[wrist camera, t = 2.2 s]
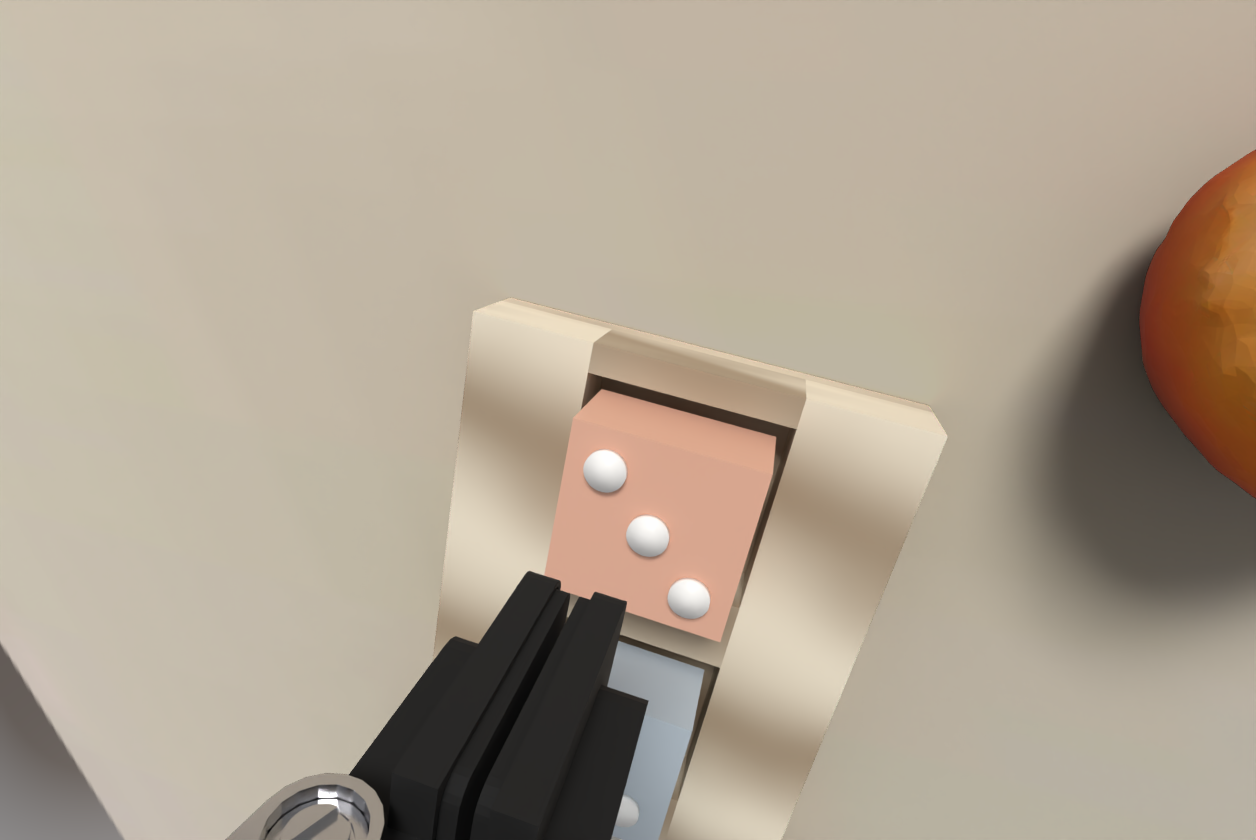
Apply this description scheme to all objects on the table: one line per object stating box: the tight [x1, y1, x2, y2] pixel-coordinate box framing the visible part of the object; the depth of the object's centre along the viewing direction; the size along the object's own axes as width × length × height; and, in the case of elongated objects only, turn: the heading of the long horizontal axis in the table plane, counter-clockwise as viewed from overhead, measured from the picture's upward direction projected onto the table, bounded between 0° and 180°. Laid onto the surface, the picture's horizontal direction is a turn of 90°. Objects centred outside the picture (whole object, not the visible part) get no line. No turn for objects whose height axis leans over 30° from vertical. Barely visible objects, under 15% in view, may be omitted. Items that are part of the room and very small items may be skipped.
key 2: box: [607, 641, 704, 840], centre depth 19 cm, size 5×5×3 cm
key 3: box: [544, 389, 776, 642], centre depth 17 cm, size 5×5×3 cm
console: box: [433, 298, 948, 840], centre depth 21 cm, size 22×12×2 cm, turn 168°
